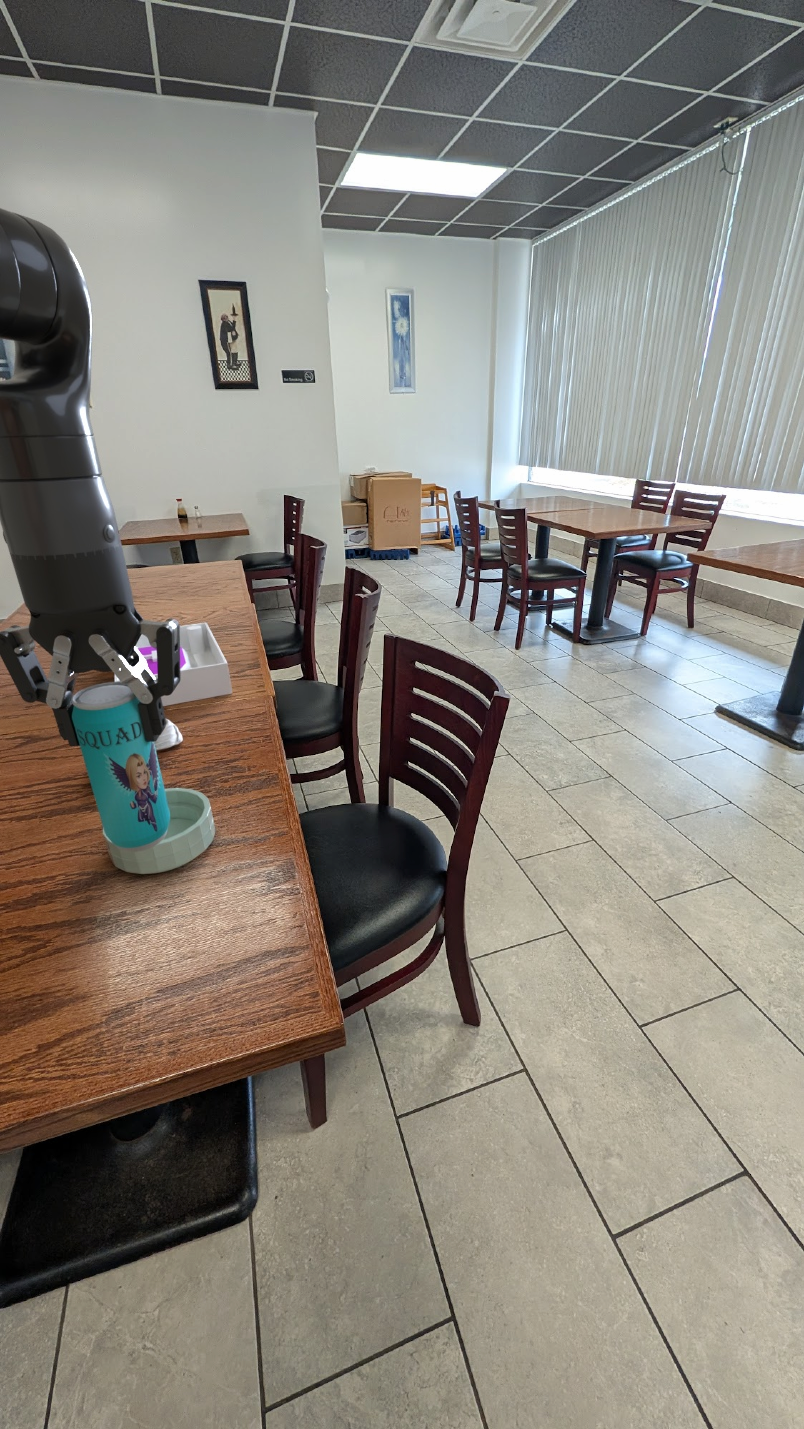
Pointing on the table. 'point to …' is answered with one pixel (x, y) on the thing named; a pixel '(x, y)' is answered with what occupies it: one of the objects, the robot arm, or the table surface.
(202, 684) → the white open box
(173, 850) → the bowl
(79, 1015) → the table surface
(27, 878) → the table surface
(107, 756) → the beverage can
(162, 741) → the white hollow rounded piece
